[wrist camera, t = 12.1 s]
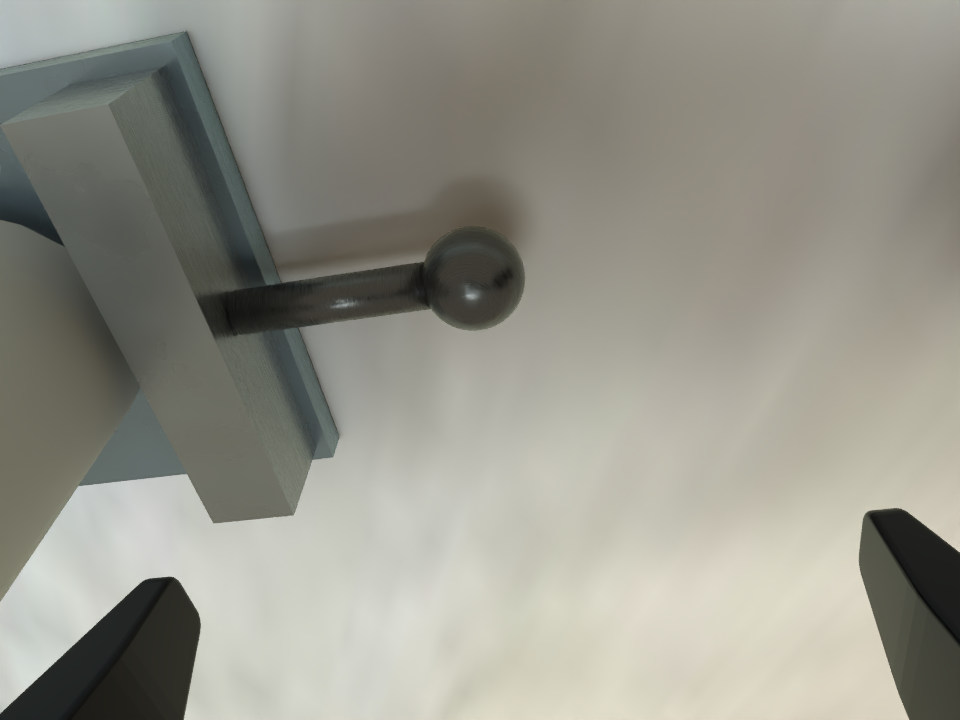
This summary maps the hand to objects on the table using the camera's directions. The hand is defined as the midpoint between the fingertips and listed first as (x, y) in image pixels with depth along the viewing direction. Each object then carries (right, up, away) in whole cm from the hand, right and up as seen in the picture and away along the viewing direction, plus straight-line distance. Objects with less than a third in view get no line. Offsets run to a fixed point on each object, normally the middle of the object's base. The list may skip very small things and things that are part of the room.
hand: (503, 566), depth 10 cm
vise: (-10, +5, +13) cm, 17 cm away
